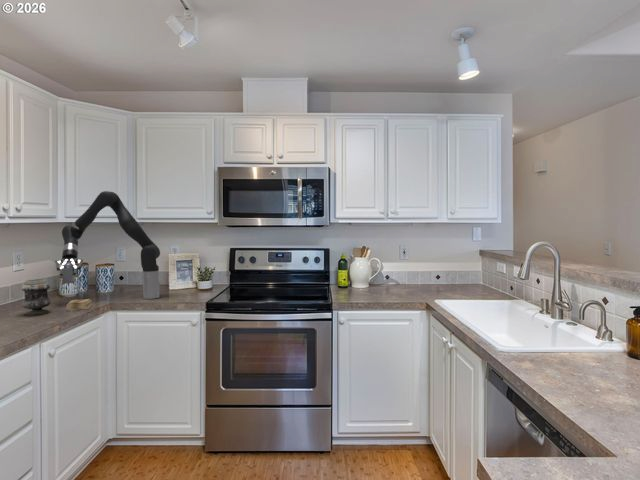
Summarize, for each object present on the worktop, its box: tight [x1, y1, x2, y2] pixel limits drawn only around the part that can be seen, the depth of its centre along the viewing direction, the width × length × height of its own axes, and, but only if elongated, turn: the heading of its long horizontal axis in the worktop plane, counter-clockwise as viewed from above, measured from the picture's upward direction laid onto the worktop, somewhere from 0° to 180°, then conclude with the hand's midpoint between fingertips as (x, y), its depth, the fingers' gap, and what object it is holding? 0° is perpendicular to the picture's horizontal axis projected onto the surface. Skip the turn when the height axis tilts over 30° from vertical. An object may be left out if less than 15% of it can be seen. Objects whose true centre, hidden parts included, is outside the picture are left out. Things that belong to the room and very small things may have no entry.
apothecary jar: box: [21, 278, 52, 317], centre depth 191 cm, size 12×12×18 cm
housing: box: [61, 263, 77, 285], centre depth 210 cm, size 6×6×11 cm
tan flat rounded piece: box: [65, 298, 93, 312], centre depth 203 cm, size 10×10×4 cm
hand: (68, 274), depth 208 cm, fingers closed on housing, 5 cm apart
